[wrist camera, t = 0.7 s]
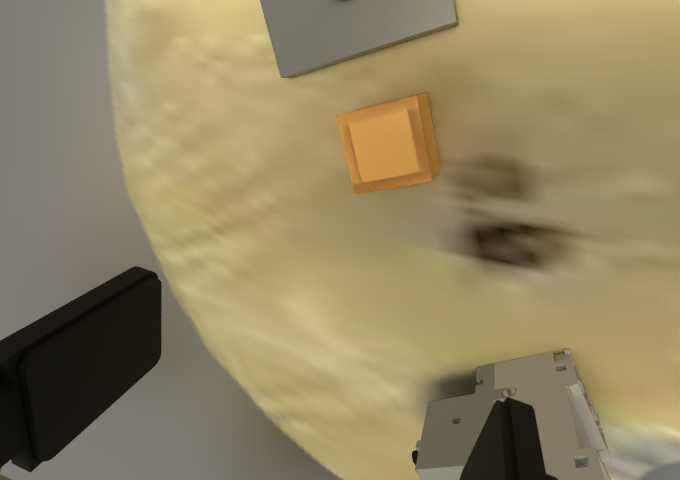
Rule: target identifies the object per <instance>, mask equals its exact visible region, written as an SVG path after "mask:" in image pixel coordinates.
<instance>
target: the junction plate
mask: <svg viewBox="0 0 680 480" xmlns="http://www.w3.org/2000/svg"><path fill="white" fill-rule="evenodd" d="M260 2H261V6H262V9H263V13H264V17H265V20H266V24H267V28H268V31H269V35H270V39H271V42H272V46H273V50H274V53H275V57H276V61H277V64H278V68H279V72H280V75H281V78H293V77H296V76H299V75H302V74H305V73H309V72H312V71H315V70H318V69H321V68H324V67H327V66H331V65H334V64H337V63H340V62H343V61H346V60H349V59H352V58H356V57H359V56H362V55H365V54H368V53H371V52H374V51H377V50H381V49H384V48H387V47H390V46H393V45H396V44H399V43H403V42H406V41H409V40H412V39H415V38H418V37H421V36H424V35H428V34H431V33H434V32H437V31H440V30H443V29H446V28H450V27H453V26H456V25H458V18H457V11H456V5H455V0H260Z"/></svg>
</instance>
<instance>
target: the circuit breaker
mask: <svg viewBox="0 0 680 480" xmlns="http://www.w3.org/2000/svg"><path fill="white" fill-rule="evenodd" d="M563 350H564V353H562V354H557V355H554V354H553V352H548V353H543V354H538V355H533V356H528V357H523V358H519V359H514V360H509V361H504V362H499V363H494V364H489V365H484V366H480V367H477V372H476V381H477V383H478V385H476V387H475V393H474V394H470V395H464V396H459V397H453V398H447V399H442V400H436V401H430V402H429V403H428V408H427V413H426V418H425V423H424V427H423V432H422V437H421V440H419V441H417V444H416V449H417V450H415V451H413V452H412V459H413V462H414V464H415V465H416V468H415V470H416V472H417V474H418V476H419V477H420V479H421V480H460V476H461V473H462V471H463V469H464V466H465V464H466V462H467V460H468V458H469V456H470V454H471V452H472V450H473V447H474V445H475V443H476V441H477V439H478V437H479V435H480V433H481V431H482V428H483V426H484V424H485V422H486V420H487V418H488V416H489V414H490V411H491V409H492V407H493V405H494V403H495V401H496V400H499V401H502V402H504V400H505V399H506V398H507V397H509V398H512V399H515V400H518V401H521V402H524V403H526V404H529V405H532V406H533V408H534V411H535V416H536V422H537V427H538V433H539V438H540V443H541V449H542V454H543V459H544V465H545V470H546V474H549V475H551V476H554V477H557V479H558V480H611V479H610V477H609V474H608V472H607V470H606V468H605V465H604V463H602V462H603V461H606V460H609V459H611V457H610V454H609V451H608V447H607V444H606V441H605V437H604V434H603V431H602V428H601V426H600V422H599V417H598V415H597V413H596V410H595V408H594V406H593V403H592V401H591V399H590V397H589V394H588V392H587V390H586V387H585V385H584V383H583V380H582V378H581V376H580V374H579V371H578V369H577V367H576V364H575V362H574V360H573V357H572V355H571V353H570V350H569V348H568V349H563ZM601 461H602V462H601Z"/></svg>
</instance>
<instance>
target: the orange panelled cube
mask: <svg viewBox="0 0 680 480" xmlns="http://www.w3.org/2000/svg"><path fill="white" fill-rule="evenodd" d="M336 118H337V123H338V127H339V131H340V135H341V139H342V143H343V147H344V151H345V156H346V160H347V164H348V168H349V172H350V176H351V180H352V185H353V189H354V193H355V194H361V193H366V192H372V191H378V190H384V189H389V188H395V187H401V186H406V185H412V184H418V183H424V182H429V181H433V179H434V177H435V176H436V174H437V172H438V171H439V169H440V161H439V155H438V150H437V144H436V138H435V133H434V127H433V121H432V116H431V110H430V104H429V99H428V93H427V92H426V93H422V94H418V95H414V96H410V97H406V98H403V99H399V100H395V101H391V102H387V103H384V104H380V105H376V106H372V107H368V108H365V109H361V110H357V111H353V112H349V113H346V114H342V115H338V116H336Z"/></svg>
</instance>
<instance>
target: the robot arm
mask: <svg viewBox="0 0 680 480" xmlns="http://www.w3.org/2000/svg"><path fill="white" fill-rule="evenodd" d="M160 356H161V281H160V280H159V279H158V276H157V274H156V273H155V272H152V271H149V270H146V269H144V268H141V267H136V266H135V267H132V268H131V269H129V270H127V271H125V272H123V273H122V274H120V275H118V276H116V277H114V278H112V279H111V280H109V281H107V282H105V283H103V284H102V285H100V286H98V287H96V288H94V289H93V290H91V291H89V292H87V293H86V294H84V295H82V296H80V297H78V298H76V299H75V300H73V301H71V302H69V303H67V304H66V305H64V306H62V307H60V308H58V309H57V310H55V311H53V312H51V313H49V314H48V315H46V316H44V317H42V318H41V319H39V320H37V321H35V322H33V323H31V324H30V325H28V326H26V327H24V328H22V329H21V330H19V331H17V332H15V333H13V334H12V335H10V336H8V337H6V338H5V339H3V340H1V341H0V471H1V468H2V466H3V465H4V464H5V463H7V462H8V461H9V460H10V459H11V460H12V463H13V464H15V465H17V466H19V467H21V468H23V469H25V470H27V471H29V472H31V471H33V470H34V469H35V468H36V467H37V466H38V465H39V464H40V463H42V462H43V461H48V460H50V459H52V458H53V457H54V456H56V455H57V454H58V453H59V452H60V451H61V450H62V449H63V448H64V447H65V446H66V445H68V444H69V443H70V442H71V441H72V440H73V439H74V438H76V437H77V436H78V435H79V434H80V433H81V432H82V431H83V430H84V429H85V428H87V427H88V426H89V425H90V424H91V423H92V422H93V421H94V420H95V419H97V418H98V417H99V416H100V415H101V414H102V413H103V412H104V411H105V410H107V409H108V408H109V407H110V406H111V405H112V404H113V403H114V402H115V401H116V400H118V399H119V398H120V397H121V396H122V395H123V394H124V393H125V392H126V391H128V390H129V389H130V388H131V387H132V386H133V385H134V384H135V383H136V382H137V381H138V380H139V379H141V378H142V377H143V376H144V375H145V374H146V373H147V372H148V371H150V370H151V369H152V368H153V367H154V366H155V365H156V364H157V362H158V361H159V359H160ZM0 480H11V479H9V478H7V477H5V476H3V475H1V474H0ZM460 480H558V479H557V477H554V476H551V475H549V474H546V470H545V465H544V459H543V454H542V449H541V443H540V438H539V433H538V427H537V422H536V416H535V411H534V408H533V406H532V405H529V404H526V403H524V402H521V401H518V400H515V399H512V398H509V397H507V398H506V399H505V400H504V402H502V401H499V400H496V401H495V403H494V405H493V407H492V409H491V411H490V414H489V416H488V418H487V420H486V422H485V424H484V426H483V428H482V431H481V433H480V435H479V437H478V439H477V441H476V443H475V445H474V447H473V450H472V452H471V454H470V456H469V458H468V460H467V462H466V464H465V466H464V469H463V471H462V473H461V476H460Z"/></svg>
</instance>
